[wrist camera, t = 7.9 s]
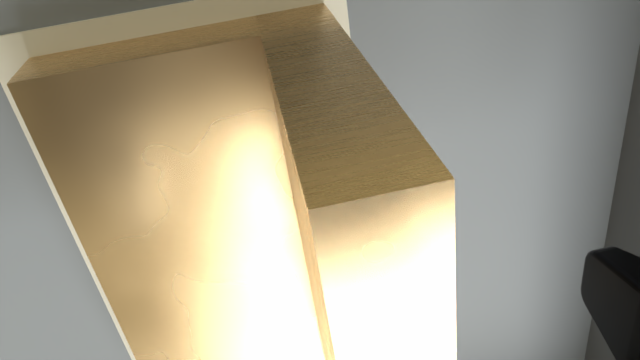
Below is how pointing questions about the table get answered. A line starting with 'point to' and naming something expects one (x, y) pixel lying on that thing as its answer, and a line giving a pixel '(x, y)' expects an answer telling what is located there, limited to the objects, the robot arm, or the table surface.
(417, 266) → the bracket
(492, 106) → the arena
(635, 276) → the robot arm
